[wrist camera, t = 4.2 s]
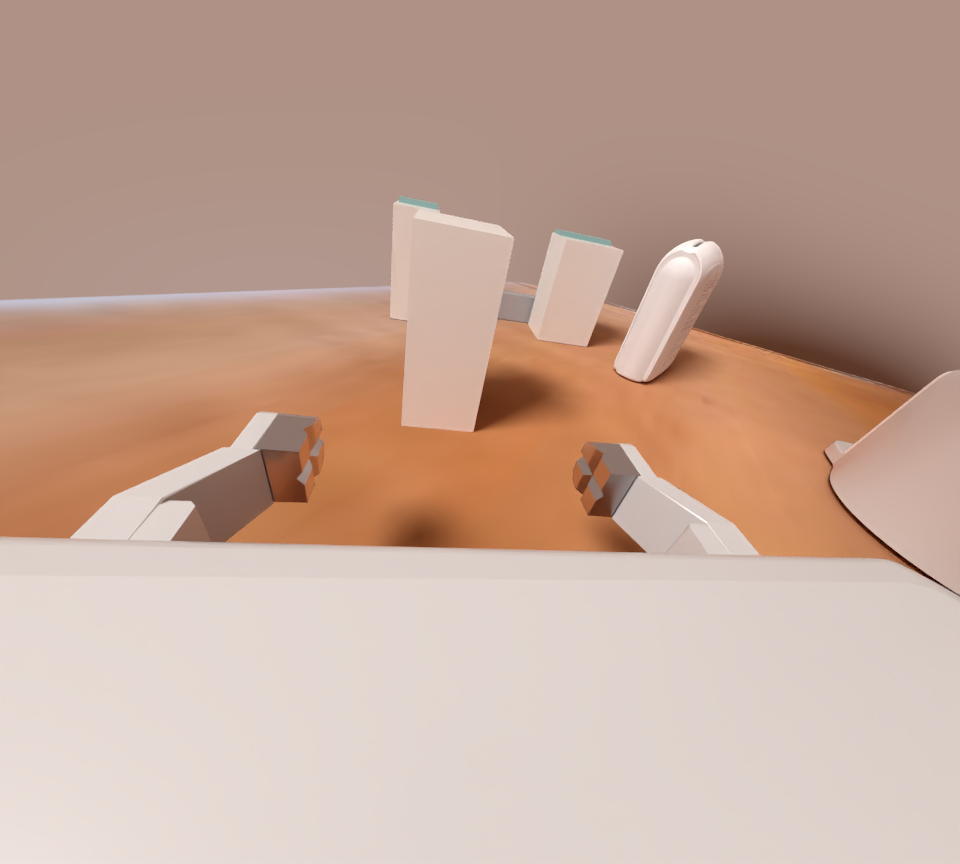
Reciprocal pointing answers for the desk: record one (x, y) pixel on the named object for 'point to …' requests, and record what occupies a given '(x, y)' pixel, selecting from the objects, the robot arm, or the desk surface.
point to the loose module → (451, 317)
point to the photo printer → (669, 309)
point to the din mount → (562, 287)
